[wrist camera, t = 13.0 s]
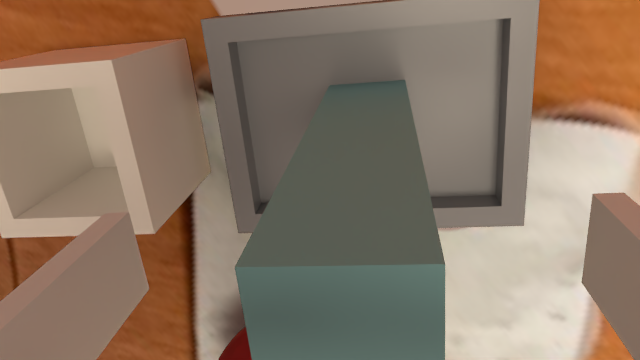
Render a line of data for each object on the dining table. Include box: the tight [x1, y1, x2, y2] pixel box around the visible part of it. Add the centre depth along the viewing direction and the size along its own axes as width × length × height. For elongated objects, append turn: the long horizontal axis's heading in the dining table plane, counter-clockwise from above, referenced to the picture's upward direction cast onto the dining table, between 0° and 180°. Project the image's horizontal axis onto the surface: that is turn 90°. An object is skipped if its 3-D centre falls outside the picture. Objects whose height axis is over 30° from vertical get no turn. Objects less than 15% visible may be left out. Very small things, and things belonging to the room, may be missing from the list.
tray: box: [201, 0, 539, 233], centre depth 26 cm, size 16×12×2 cm
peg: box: [235, 80, 445, 360], centre depth 18 cm, size 4×4×18 cm
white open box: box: [0, 39, 211, 238], centre depth 25 cm, size 8×8×8 cm
